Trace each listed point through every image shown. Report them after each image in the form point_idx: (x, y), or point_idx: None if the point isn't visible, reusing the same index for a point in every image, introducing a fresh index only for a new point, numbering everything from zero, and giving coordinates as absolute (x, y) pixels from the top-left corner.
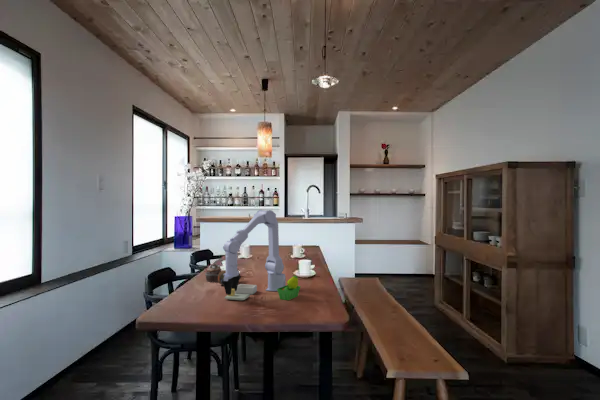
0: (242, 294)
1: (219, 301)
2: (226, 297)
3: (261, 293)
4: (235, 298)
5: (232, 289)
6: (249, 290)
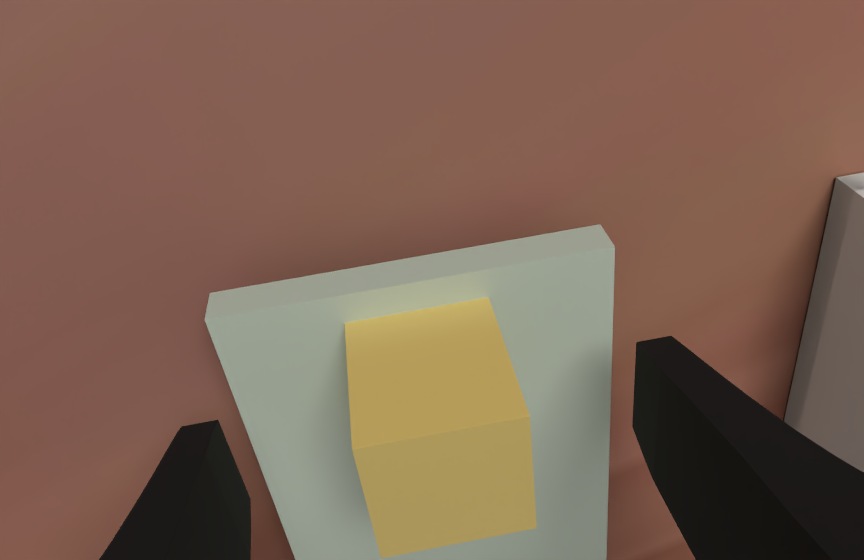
0: (563, 504)
1: (61, 204)
2: (221, 351)
3: None
4: (281, 508)
5: (441, 522)
6: None
